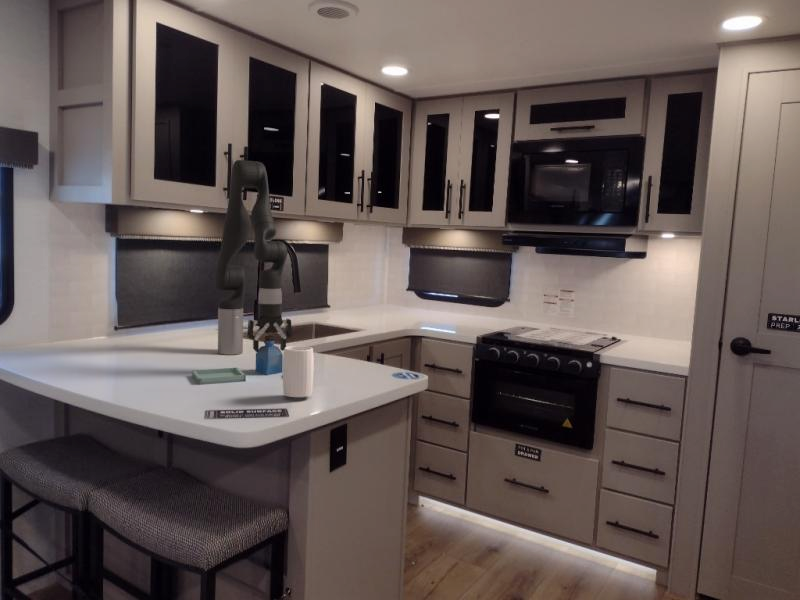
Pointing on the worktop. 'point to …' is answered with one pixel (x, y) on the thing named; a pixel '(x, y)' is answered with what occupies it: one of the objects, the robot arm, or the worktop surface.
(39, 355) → the worktop surface
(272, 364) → the perfume bottle
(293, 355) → the cup
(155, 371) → the worktop surface
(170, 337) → the worktop surface
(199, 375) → the tray
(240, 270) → the robot arm
